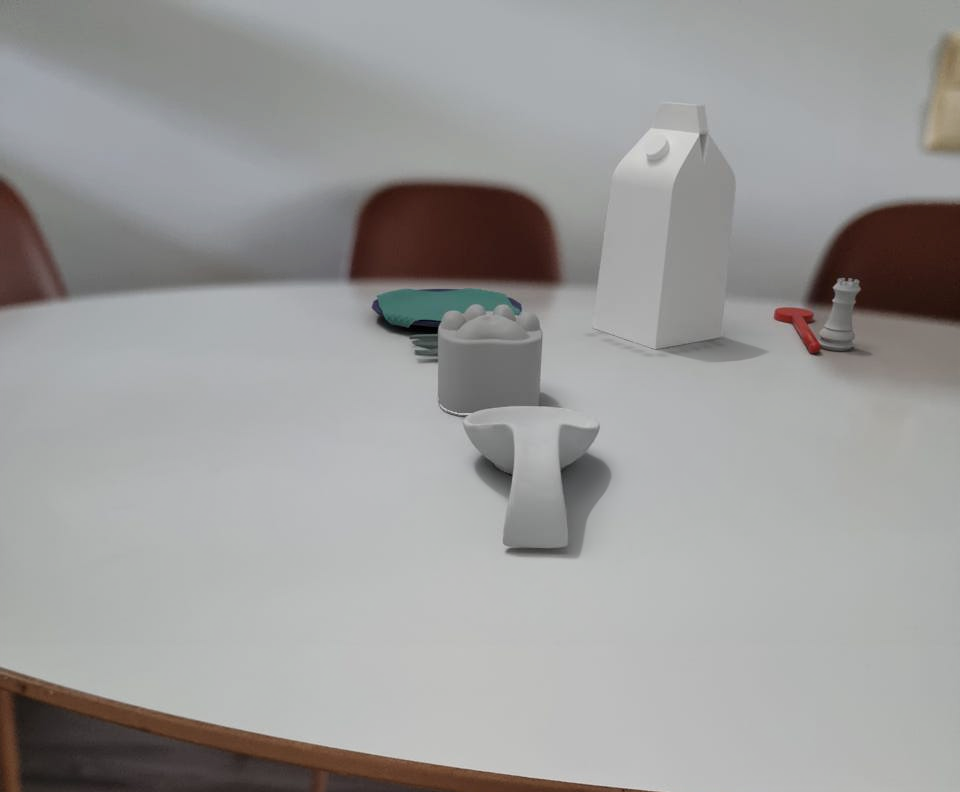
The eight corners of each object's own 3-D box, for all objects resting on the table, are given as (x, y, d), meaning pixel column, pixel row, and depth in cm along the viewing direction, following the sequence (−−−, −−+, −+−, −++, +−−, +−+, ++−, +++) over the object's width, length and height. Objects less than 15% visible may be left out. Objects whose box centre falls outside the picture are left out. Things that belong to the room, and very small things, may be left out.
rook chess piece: (810, 342, 124) (823, 276, 119) (844, 342, 124) (858, 276, 120) (824, 351, 120) (838, 283, 116) (859, 351, 120) (874, 284, 116)
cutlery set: (506, 301, 139) (506, 284, 138) (554, 358, 114) (556, 339, 113) (366, 303, 136) (366, 286, 135) (385, 363, 111) (384, 342, 110)
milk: (721, 337, 125) (756, 106, 111) (654, 349, 119) (683, 107, 105) (656, 317, 133) (681, 100, 119) (591, 327, 127) (610, 101, 114)
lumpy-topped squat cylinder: (437, 416, 96) (437, 326, 91) (438, 377, 107) (438, 295, 102) (543, 417, 96) (548, 327, 92) (532, 378, 107) (536, 297, 103)
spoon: (771, 313, 137) (773, 303, 136) (809, 315, 136) (811, 305, 135) (792, 353, 119) (794, 342, 118) (836, 356, 118) (838, 344, 117)
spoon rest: (463, 438, 90) (464, 361, 87) (589, 441, 91) (596, 364, 87) (457, 551, 70) (458, 457, 67) (620, 555, 70) (630, 460, 67)
